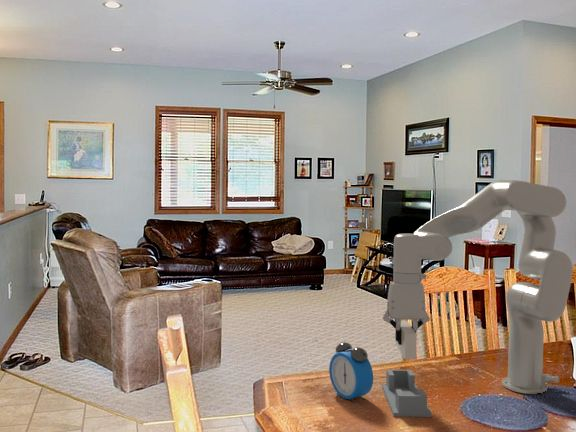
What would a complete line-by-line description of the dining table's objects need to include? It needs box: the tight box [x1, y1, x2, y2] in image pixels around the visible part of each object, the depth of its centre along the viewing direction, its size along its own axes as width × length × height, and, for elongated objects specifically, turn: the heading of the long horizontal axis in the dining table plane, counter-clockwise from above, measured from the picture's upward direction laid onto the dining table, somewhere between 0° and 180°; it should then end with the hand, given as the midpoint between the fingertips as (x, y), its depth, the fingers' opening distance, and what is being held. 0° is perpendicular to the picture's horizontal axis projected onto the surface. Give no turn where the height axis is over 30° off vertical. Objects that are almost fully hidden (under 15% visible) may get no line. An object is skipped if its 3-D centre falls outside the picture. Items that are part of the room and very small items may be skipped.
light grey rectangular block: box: [395, 320, 418, 361], centre depth 154 cm, size 3×14×7 cm, turn 179°
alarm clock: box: [328, 341, 374, 403], centre depth 158 cm, size 13×6×15 cm, turn 34°
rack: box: [381, 369, 433, 418], centre depth 155 cm, size 10×21×6 cm, turn 179°
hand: (405, 342), depth 154 cm, fingers closed on light grey rectangular block, 2 cm apart
